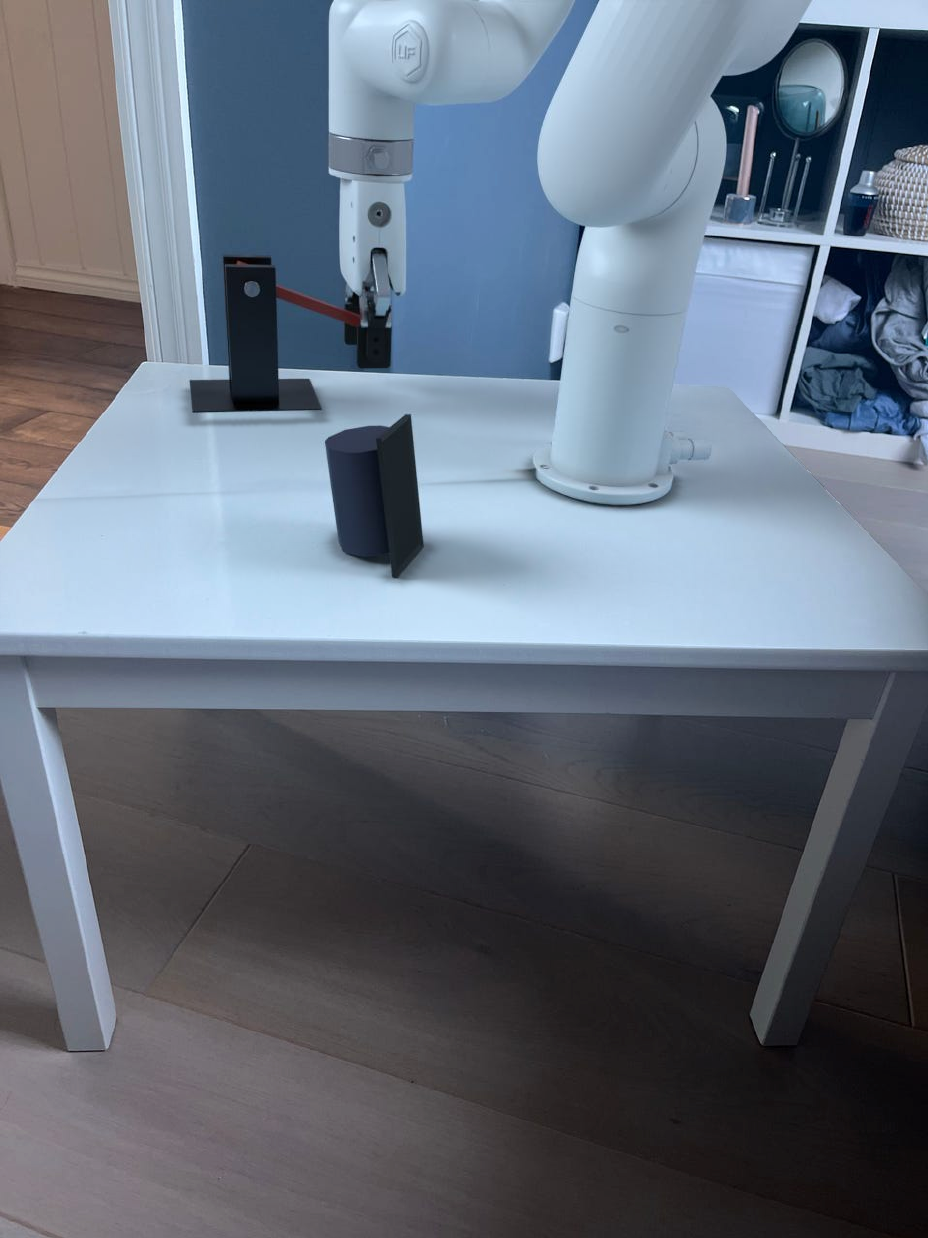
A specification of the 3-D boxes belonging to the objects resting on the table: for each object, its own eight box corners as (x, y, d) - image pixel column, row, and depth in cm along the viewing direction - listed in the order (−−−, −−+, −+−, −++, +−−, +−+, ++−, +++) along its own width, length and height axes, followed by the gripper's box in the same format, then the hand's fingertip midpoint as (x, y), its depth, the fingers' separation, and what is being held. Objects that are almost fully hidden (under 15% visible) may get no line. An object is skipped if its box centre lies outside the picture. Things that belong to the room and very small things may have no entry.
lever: (367, 331, 98) (375, 308, 97) (376, 346, 94) (385, 322, 93) (229, 281, 92) (236, 256, 91) (232, 294, 88) (240, 269, 87)
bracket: (309, 389, 101) (308, 251, 94) (321, 420, 94) (320, 273, 87) (190, 391, 98) (179, 248, 91) (193, 423, 91) (181, 271, 84)
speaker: (448, 550, 73) (441, 416, 68) (395, 579, 69) (384, 440, 64) (375, 525, 77) (363, 397, 72) (322, 552, 73) (305, 419, 68)
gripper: (434, 175, 81) (422, 383, 90) (392, 147, 95) (386, 330, 105) (344, 171, 79) (342, 384, 89) (315, 143, 93) (316, 330, 103)
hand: (366, 353), depth 96 cm, fingers open, 6 cm apart
